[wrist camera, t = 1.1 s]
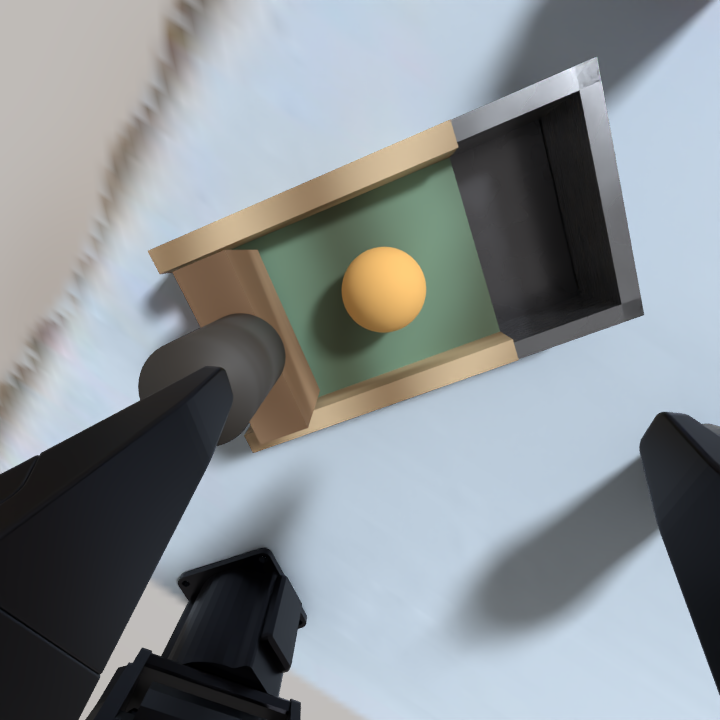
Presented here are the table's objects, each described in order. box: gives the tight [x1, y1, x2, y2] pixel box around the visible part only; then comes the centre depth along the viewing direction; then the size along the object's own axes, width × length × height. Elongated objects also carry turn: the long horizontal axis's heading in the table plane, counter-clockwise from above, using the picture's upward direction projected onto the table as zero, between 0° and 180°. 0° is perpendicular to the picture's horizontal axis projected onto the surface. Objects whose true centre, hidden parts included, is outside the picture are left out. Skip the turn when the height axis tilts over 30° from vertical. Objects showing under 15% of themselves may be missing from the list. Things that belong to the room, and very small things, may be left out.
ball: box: [342, 247, 426, 333], centre depth 16 cm, size 4×4×4 cm
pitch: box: [148, 120, 518, 453], centre depth 18 cm, size 13×10×4 cm
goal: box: [449, 57, 644, 359], centre depth 17 cm, size 6×10×4 cm, turn 21°
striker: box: [138, 250, 320, 446], centre depth 14 cm, size 3×7×8 cm, turn 21°
